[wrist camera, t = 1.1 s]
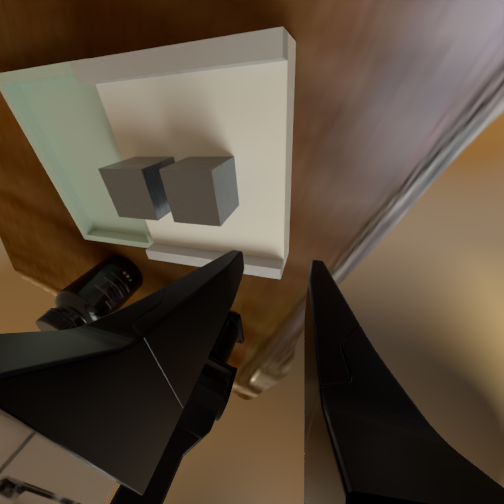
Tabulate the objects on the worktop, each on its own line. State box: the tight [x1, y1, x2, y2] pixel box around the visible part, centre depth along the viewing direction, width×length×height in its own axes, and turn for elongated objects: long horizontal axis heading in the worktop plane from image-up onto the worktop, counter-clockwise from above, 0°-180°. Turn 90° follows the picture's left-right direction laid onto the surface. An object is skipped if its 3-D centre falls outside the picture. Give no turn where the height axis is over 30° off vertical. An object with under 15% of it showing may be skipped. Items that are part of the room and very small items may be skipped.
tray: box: [0, 59, 154, 248], centre depth 25 cm, size 18×12×2 cm, turn 4°
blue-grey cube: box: [159, 156, 239, 227], centre depth 17 cm, size 4×4×4 cm
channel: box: [69, 26, 296, 279], centre depth 20 cm, size 17×15×4 cm
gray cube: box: [98, 157, 175, 221], centre depth 19 cm, size 4×4×4 cm
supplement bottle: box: [36, 256, 143, 331], centre depth 31 cm, size 7×7×12 cm
